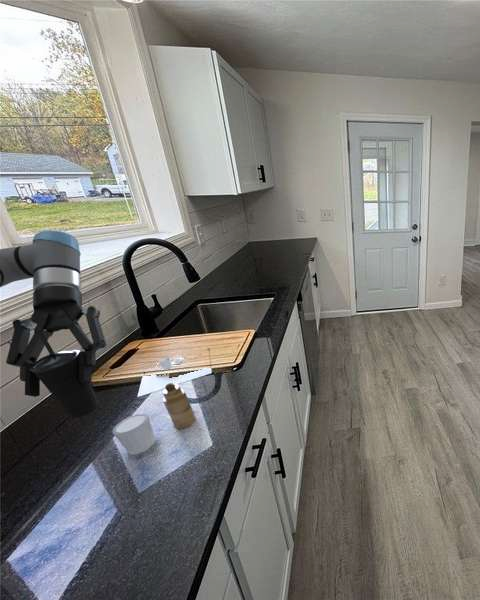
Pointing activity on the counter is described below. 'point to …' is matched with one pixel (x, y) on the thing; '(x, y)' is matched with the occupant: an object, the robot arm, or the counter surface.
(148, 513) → the counter surface
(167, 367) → the teacup and saucer
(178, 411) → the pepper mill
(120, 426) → the white short cylinder
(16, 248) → the robot arm
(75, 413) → the drinking cup
